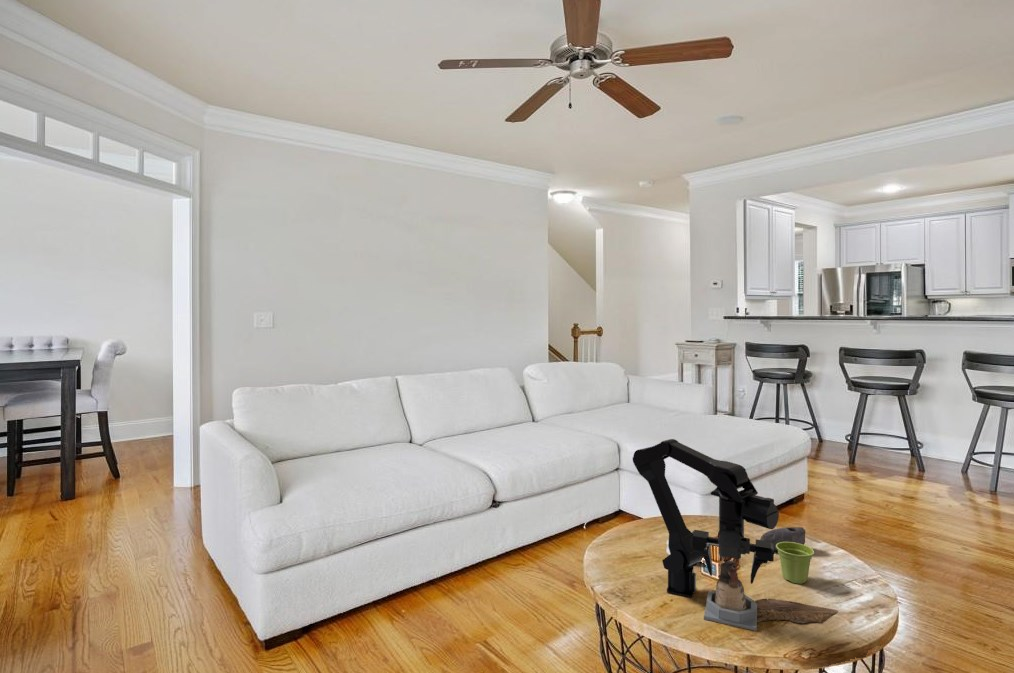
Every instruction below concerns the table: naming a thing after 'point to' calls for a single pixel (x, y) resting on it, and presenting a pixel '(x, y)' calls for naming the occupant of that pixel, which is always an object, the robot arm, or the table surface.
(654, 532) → the table surface
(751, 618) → the tray
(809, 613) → the wooden fragment
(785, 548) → the plant pot
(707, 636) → the table surface
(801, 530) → the perforated stone tool
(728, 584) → the figurine
